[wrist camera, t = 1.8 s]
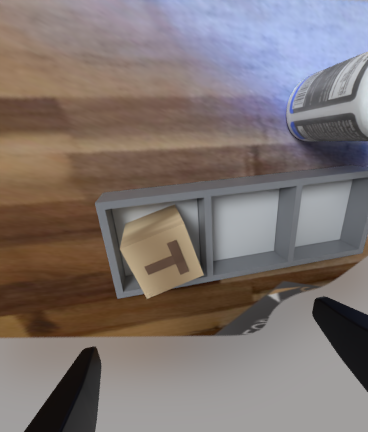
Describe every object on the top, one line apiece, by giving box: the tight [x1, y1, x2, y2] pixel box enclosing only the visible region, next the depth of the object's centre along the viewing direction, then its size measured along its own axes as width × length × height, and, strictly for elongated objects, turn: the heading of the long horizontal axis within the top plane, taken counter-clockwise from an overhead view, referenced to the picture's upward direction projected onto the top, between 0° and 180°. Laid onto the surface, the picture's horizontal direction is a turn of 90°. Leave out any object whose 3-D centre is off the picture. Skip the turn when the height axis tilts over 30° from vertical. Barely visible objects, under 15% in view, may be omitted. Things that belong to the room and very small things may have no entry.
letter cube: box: [120, 204, 204, 299], centre depth 15 cm, size 4×4×4 cm
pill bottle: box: [286, 52, 368, 141], centre depth 12 cm, size 5×5×8 cm
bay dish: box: [95, 165, 368, 299], centre depth 17 cm, size 22×8×3 cm, turn 94°
